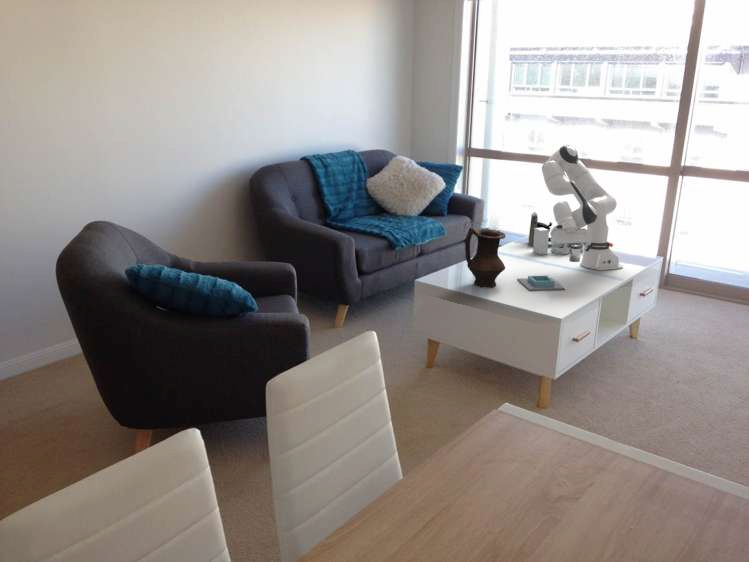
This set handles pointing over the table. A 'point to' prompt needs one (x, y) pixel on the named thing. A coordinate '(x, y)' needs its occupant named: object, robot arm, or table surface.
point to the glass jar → (575, 253)
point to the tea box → (559, 250)
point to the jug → (485, 256)
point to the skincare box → (541, 241)
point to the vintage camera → (536, 225)
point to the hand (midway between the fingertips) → (575, 252)
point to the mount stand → (540, 283)
